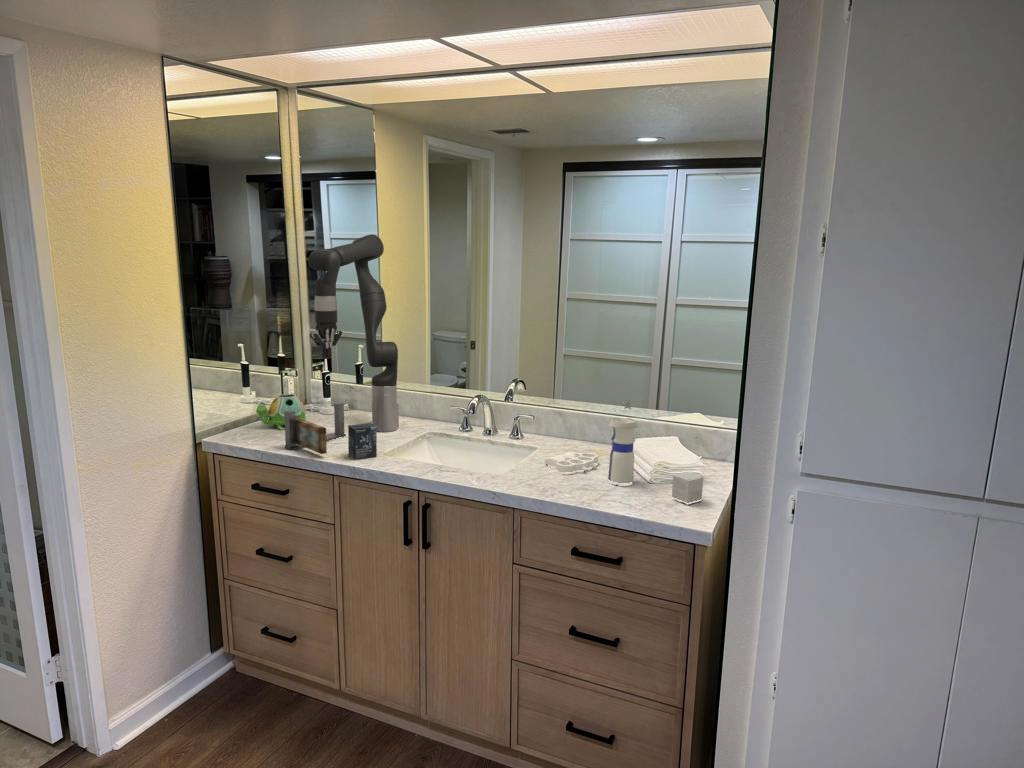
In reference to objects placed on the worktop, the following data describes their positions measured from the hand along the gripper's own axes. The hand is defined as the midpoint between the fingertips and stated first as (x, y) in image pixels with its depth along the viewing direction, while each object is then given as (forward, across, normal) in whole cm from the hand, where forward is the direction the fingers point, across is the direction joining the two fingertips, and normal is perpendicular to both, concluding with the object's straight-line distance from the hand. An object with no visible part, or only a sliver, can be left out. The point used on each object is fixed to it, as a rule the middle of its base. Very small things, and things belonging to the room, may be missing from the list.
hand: (327, 358), depth 246 cm
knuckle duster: (+30, +26, -86) cm, 94 cm away
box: (+29, -8, -25) cm, 39 cm away
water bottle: (+29, +21, -104) cm, 110 cm away
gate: (+28, -15, -8) cm, 32 cm away
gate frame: (+29, -6, 0) cm, 30 cm away
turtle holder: (+29, +1, +26) cm, 39 cm away
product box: (+29, +18, -126) cm, 131 cm away
